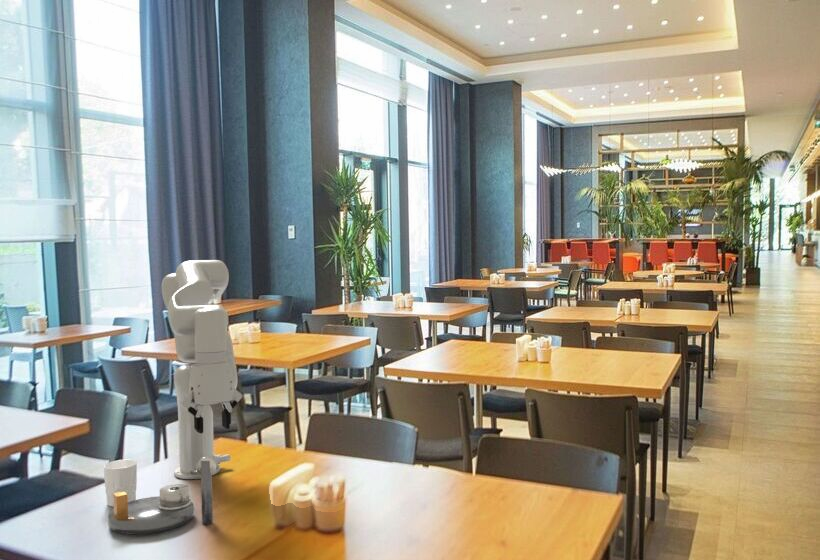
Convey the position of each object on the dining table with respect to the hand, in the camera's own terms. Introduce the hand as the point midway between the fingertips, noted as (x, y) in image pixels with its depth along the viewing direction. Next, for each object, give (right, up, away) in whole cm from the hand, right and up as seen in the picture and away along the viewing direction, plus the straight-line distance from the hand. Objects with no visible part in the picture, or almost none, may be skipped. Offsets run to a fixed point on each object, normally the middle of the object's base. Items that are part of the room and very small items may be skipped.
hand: (212, 429), depth 178 cm
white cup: (-25, -20, +5) cm, 32 cm away
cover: (-8, -17, -5) cm, 20 cm away
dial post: (+1, -20, -10) cm, 22 cm away
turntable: (-12, -20, -8) cm, 25 cm away
